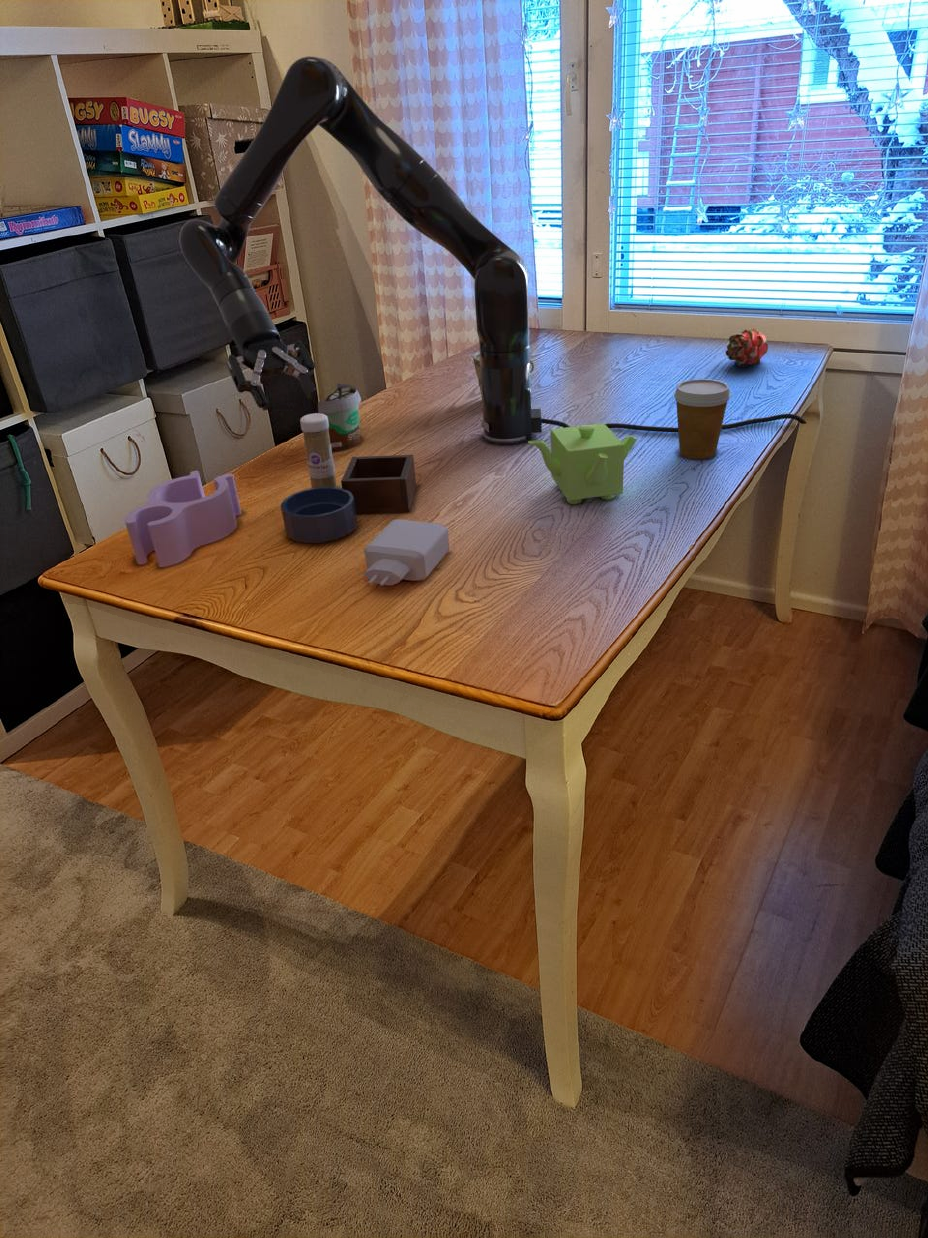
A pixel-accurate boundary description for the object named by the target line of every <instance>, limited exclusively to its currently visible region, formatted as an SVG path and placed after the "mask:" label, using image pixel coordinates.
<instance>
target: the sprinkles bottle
mask: <svg viewBox="0 0 928 1238" xmlns="http://www.w3.org/2000/svg"><path fill="white" fill-rule="evenodd" d="M299 422H300V430H301V431H302V435H303V440H304V447H305V454H306V463H307V468H308V469H307V470H308V475H309V478H310V479H309V480H310V484H311V488H316V487H337V488H339V486H338V484H337V477H336V469H335V462H334V456H333V451H332V448H331V443H330V437H329V428H328V427H329V423H328V417H327V416H326V415H324V414H320V413H318V412H315V413H308V414H305V415H303V416H302V417H301V418H300V419H299Z"/></svg>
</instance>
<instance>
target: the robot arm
mask: <svg viewBox="0 0 928 1238" xmlns="http://www.w3.org/2000/svg"><path fill="white" fill-rule="evenodd" d="M318 126H319V127H321V128H322V129H323V130H324V131H326V132H327V133H328V134H329V135H330V136H331V137H332V138H334V139H335V140H336V141H337V142H338V143H340V145H341V146H342V147H344V149H345V150H347V152H349V154H350V155H351V156H352V157H353V158H354V160H355V161H356V163H357V164H358V165H359V167H360V168H361V170H362V172H363V173H364V174H365V176H366V177H367V179H368V180H369V182H370V183H371V184H372V186H373V187H374V188H375V190H376V191H377V193H378V194H379V195H380V196H381V197H382V198H383V199H384V200H385V202H386V203H387V204H389V206H390V207H391V208H392V209H393V210H394V211H395V212H396V213H397V214H398V215H399V216H400V217H401V218H402V219H403V220H404V221H405V222H407V223H408V225H410V226H411V227H413V228H414V229H415V230H416V231H418V232H419V233H421V234H422V235H423V236H425V237H426V238H428V239H430V240H431V241H433V242H434V243H436V244H437V245H439V246H441V247H442V248H443V249H445V250H446V251H448V252H449V253H450V254H451V255H452V256H453V257H454V258H455V259H456V260H457V261H458V262H459V263H460V264H461V265H462V267H464V269H465V270H466V271H467V272H468V273H469V275H470V276H471V277H472V278H473V280H474V285H473V286H474V288H473V289H474V305H475V306H474V307H475V308H474V309H475V320H476V321H475V322H476V333H477V338H478V349H479V351H478V352H480V370H481V389H482V395H481V403H482V405H481V406H482V407H481V408H482V419H480V422H481V423H480V425H481V428H482V430H483V439H484V440H485V442H488V443H491V444H496V445H514V444H515V445H516V444H520V443H525V442H529V441H533V434H537V433H538V434H539V433H543V425H542V424H546V425H552V426H557V427H560V428H566V427H572V426H571V425H569V424H568V423H566V422H563V421H561V420H555V419H550V418H544V417H542V415H543V414H542V408H532V406H533V405H532V383H531V381H532V380H531V373H530V371H531V363H530V360H531V348H530V346H531V345H530V343H531V341H530V335H531V334H530V327H529V326H530V324H529V290H528V289H529V288H528V287H529V279H530V278H529V277H530V275H529V270H528V269H529V268H528V266H527V264H526V262H525V260H524V259H523V257H521V256H520V254H519V253H517V252H516V251H515V250H514V249H512V248H511V247H510V246H509V245H508V244H506V243H505V242H503V240H501V239H500V238H499V237H497V235H495V234H494V233H493V232H492V231H491V230H490V229H488V228H487V227H486V226H485V225H484V224H483V223H482V222H481V221H480V220H479V219H478V218H477V217H476V216H475V215H474V213H473V212H472V211H471V210H470V208H469V207H468V206H467V205H466V204H465V202H464V201H463V199H462V198H461V197H460V196H459V195H458V193H456V191H454V189H453V188H452V187H451V186H450V185H449V183H447V181H445V178H443V177H442V175H440V174H439V173H438V172H437V170H436V169H435V168H434V167H433V166H432V165H431V164H430V163H429V162H428V161H427V160H426V159H425V158H424V157H423V156H422V155H420V153H418V152H417V150H415V149H414V147H412V146H411V145H410V144H409V143H408V142H407V141H406V140H405V139H403V137H401V136H400V135H399V134H398V133H397V132H396V131H394V130H393V129H392V128H391V127H390V126H388V125H387V123H384V121H383V120H382V119H380V118H379V117H378V115H376V114H375V113H374V111H373V110H372V109H371V108H370V106H368V104H367V103H366V102H365V100H364V99H363V98H362V97H361V96H360V95H359V93H358V92H357V91H356V90H355V88H354V87H353V86H352V84H351V83H350V82H349V80H348V79H347V77H346V76H344V74H343V72H342V71H341V70H340V68H339V67H338V66H336V65H335V63H333V62H331V61H330V60H328V59H325V58H322V57H318V56H312V55H311V56H310V55H309V56H307V55H306V56H303V57H300V58H298V59H296V60H295V61H294V62H293V63H292V64H291V65H290V66H289V68H288V69H287V71H286V72H285V75H284V78H283V80H282V82H281V84H280V87H279V89H278V92H277V93H276V96H275V99H274V101H273V103H272V105H271V107H270V109H269V111H268V114H267V115H266V118H265V119H264V121H263V123H262V125H261V127H260V128H259V130H258V132H257V134H256V135H255V136H254V138H253V140H252V141H251V143H250V144H249V146H248V148H247V149H246V150H245V152H244V154H243V155H242V156H241V158H240V159H239V161H237V163H236V165H235V166H234V168H233V169H232V171H231V172H230V174H229V175H228V177H227V178H226V180H225V181H224V183H223V184H222V186H221V188H220V189H219V191H218V192H217V193H216V195H215V197H214V200H213V205H214V208H215V210H216V212H217V213H218V214H219V216H221V220H220V223H219V224H218V225H216V224H213V223H210V222H207V221H205V220H202V219H197V218H196V219H191V220H188V221H186V222H185V223H184V224H183V225H182V227H181V229H180V230H179V231H180V232H179V236H178V241H179V242H178V243H179V247H180V251H181V254H182V257H183V259H185V261H186V263H187V264H188V265H189V267H190V268H191V269H192V271H193V272H194V273H195V274H196V276H197V277H198V278H199V280H200V281H201V282H202V283H203V284H204V285H205V286H206V287H207V288H208V289H209V292H210V294H211V296H212V297H213V300H214V301H215V303H216V306H217V307H218V309H219V311H220V314H221V318H222V320H223V322H224V324H225V328H226V330H227V331H228V332H229V334H230V336H231V338H232V340H233V342H234V344H235V346H236V348H237V350H238V352H239V354H240V356H236V355H235V354H229V355H228V358H227V363H226V367H227V369H228V372H229V374H230V376H231V379H232V381H233V383H234V387H235V388H236V391H237V392H238V393H244V392H248V393H250V394H251V396H252V399H254V402H255V404H256V405H257V407H258V409H262V411H267V410H269V408H270V402H269V400H268V397H267V396H266V394H265V391H264V390H263V388H262V386H261V385H259V381H260V378H261V376H263V377H264V378H267V377H270V376H272V375H280V374H282V373H284V374H285V375H287V376H289V377H290V376H291V377H293V378H295V379H297V380H298V381H299V385H300V386H301V389H302V390H303V392H304V394H305V397H306V398H307V399H308V400H310V399H313V398H314V396H315V392H316V387H315V384H314V383H313V380H312V378H311V376H312V375H313V374H314V371H315V368H316V364H315V362H314V360H313V358H312V356H311V355H310V353H309V352H308V349H307V348H306V347H305V345H304V343H303V342H302V341H303V340H301V339H296V340H295V341H294V343H291V344H288V345H286V344H285V342H283V341H282V339H281V336H280V333H279V331H278V329H277V327H276V325H275V324H274V322H273V320H272V317H271V316H270V313H269V311H268V309H267V308H266V306H265V304H264V302H263V301H262V299H261V298H260V297H259V295H258V293H257V292H256V290H255V288H254V286H253V284H252V282H251V280H250V278H249V277H248V275H247V273H246V272H245V270H243V268H242V267H241V266H239V265H237V264H236V262H237V261H238V260H239V258H240V257H241V254H242V251H243V248H244V246H245V243H246V240H247V238H248V235H249V233H250V232H249V231H250V228H251V225H252V223H253V221H254V220H255V219H256V217H257V216H258V215H259V213H260V212H261V210H262V209H263V207H264V206H265V205H266V203H267V202H268V200H269V199H270V197H271V195H272V194H273V192H274V190H275V188H276V187H277V185H278V183H279V181H280V178H281V177H282V175H283V172H284V171H285V168H286V167H287V164H288V163H289V161H290V159H291V158H292V156H293V155H294V153H295V152H296V150H297V149H298V148H299V146H300V145H301V143H302V142H303V141H304V140H305V139H306V138H307V137H308V136H309V135H310V134H311V133H312V132H313V130H315V129H316V128H317V127H318ZM289 354H291V355H292V356H293V357H292V356H291V355H289ZM295 358H296V359H295ZM287 364H288V365H289V366H288V365H287ZM243 365H244V366H245V367H247V368H248V369H249V370H251V371H252V375H251V377H250V378H251V379H250V380H247V379H246V377H245V374H244V373H243V370H242V367H243ZM786 419H787V420H789V419H790V420H794V421H797V422H798V423H799V424H802V425H806V424H807V421H806V420H805V419H804V418H803V417H801V416H800V415H797V414H794V413H780V414H775V415H771V416H765V417H764V416H763V417H757V418H750V419H745V420H741V421H737V422H733V423H723V424H722V428H721V431H725V430H730V429H736V428H740V427H745V426H750V425H754V424H760V423H761V424H762V423H768V422H774V421H778V420H786ZM604 424H605V425H606V426H607V427H608V428H609V429H626V430H634V431H642V432H643V431H644V432H657V433H658V432H660V433H677V434H678V427H674V426H673V427H672V426H671V427H668V426H654V425H653V426H652V425H651V426H650V425H641V424H631V423H620V422H619V423H617V422H609V423H608V422H607V423H604Z"/></svg>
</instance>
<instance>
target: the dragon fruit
mask: <svg viewBox="0 0 928 1238" xmlns="http://www.w3.org/2000/svg"><path fill="white" fill-rule="evenodd" d="M728 342H729V343H728V344H727V345H726V350H725V356H727V358H728V360H730V361H735V363H736V366H739V367H740V368H745V367H747V365H751V366H760V363H761V359H763V358H764V356H765V355H766V354H767V352H768V351H769V344H768V342H767V338H766V336H765V334H764V333H763V332H760V331H759V330H758V329H756V328H752V329H744V330H742V331H740V332H738V333H737V334H733V335H730V336H729V337H728Z"/></svg>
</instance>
